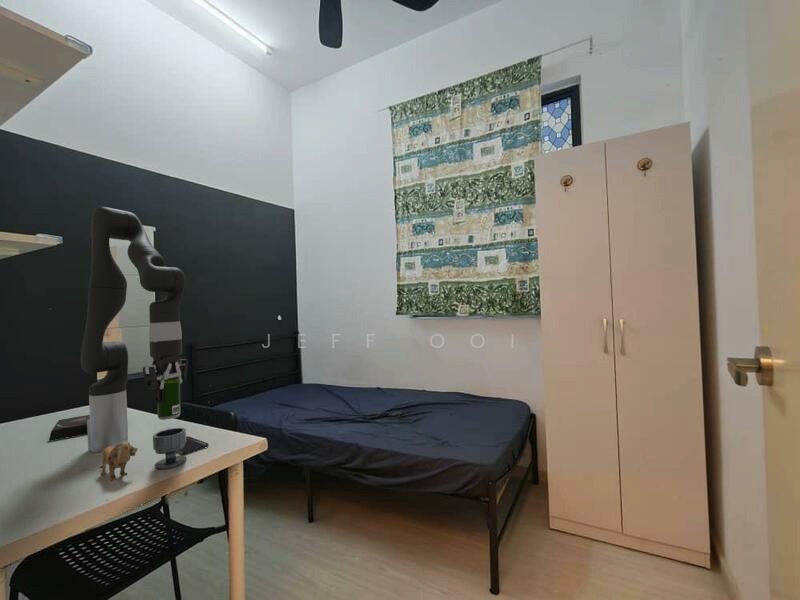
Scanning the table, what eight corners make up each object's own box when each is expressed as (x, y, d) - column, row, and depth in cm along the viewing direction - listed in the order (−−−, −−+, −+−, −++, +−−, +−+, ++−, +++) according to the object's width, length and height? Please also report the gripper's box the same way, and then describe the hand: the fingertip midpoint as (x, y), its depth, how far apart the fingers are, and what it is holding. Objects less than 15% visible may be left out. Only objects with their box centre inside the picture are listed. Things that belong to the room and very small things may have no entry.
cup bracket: (147, 469, 95) (146, 437, 95) (168, 457, 103) (167, 427, 103) (173, 469, 94) (171, 437, 94) (192, 457, 102) (191, 427, 102)
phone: (187, 435, 119) (209, 444, 110) (187, 439, 119) (210, 447, 110) (160, 443, 112) (182, 453, 104) (160, 447, 112) (182, 457, 103)
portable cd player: (57, 430, 136) (56, 420, 136) (114, 420, 146) (114, 410, 146) (49, 442, 122) (48, 431, 123) (113, 430, 133) (112, 419, 133)
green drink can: (185, 413, 101) (183, 371, 101) (171, 419, 96) (169, 374, 96) (167, 414, 102) (166, 371, 102) (152, 420, 96) (151, 375, 97)
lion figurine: (141, 474, 92) (140, 439, 93) (117, 484, 88) (116, 447, 88) (111, 466, 99) (110, 433, 99) (87, 474, 94) (86, 440, 94)
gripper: (172, 336, 107) (175, 394, 106) (131, 342, 92) (133, 407, 92) (196, 335, 106) (198, 393, 106) (157, 340, 92) (160, 407, 91)
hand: (168, 399), depth 99 cm, fingers closed on green drink can, 5 cm apart
